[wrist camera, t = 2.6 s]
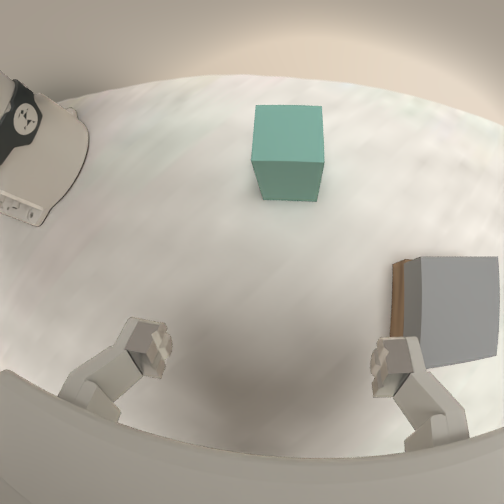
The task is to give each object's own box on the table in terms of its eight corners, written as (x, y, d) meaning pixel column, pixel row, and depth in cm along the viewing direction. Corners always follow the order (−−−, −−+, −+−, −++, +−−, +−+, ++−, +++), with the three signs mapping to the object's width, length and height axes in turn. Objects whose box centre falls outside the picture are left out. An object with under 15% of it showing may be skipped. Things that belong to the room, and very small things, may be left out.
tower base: (387, 350, 23) (400, 357, 20) (391, 264, 24) (405, 259, 21) (455, 346, 22) (473, 350, 19) (458, 266, 23) (477, 262, 20)
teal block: (263, 199, 27) (251, 160, 19) (266, 153, 28) (255, 105, 20) (316, 201, 26) (324, 162, 18) (316, 155, 27) (321, 106, 19)
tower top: (401, 361, 20) (417, 369, 16) (403, 263, 21) (420, 256, 18) (474, 350, 18) (496, 355, 15) (476, 262, 20) (497, 256, 16)
